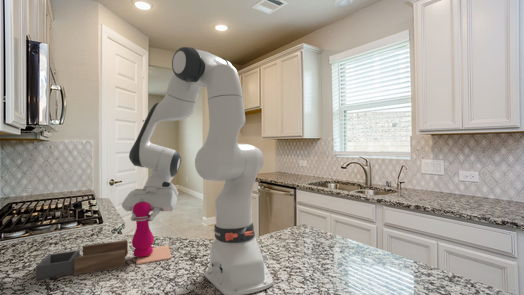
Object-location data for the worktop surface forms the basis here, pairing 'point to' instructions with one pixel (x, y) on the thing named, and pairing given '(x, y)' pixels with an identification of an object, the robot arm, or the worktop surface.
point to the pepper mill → (142, 230)
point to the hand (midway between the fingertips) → (141, 220)
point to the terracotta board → (155, 255)
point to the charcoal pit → (56, 265)
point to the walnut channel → (101, 257)
